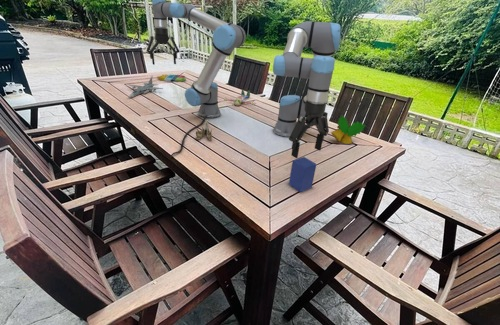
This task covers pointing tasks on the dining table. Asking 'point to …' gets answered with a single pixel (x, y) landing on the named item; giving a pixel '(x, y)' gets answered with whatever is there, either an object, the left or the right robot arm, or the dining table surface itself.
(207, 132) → the jawbone
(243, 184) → the dining table surface
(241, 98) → the toy
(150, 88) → the airplane
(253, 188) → the dining table surface
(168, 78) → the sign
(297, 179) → the brick
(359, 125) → the ornament
